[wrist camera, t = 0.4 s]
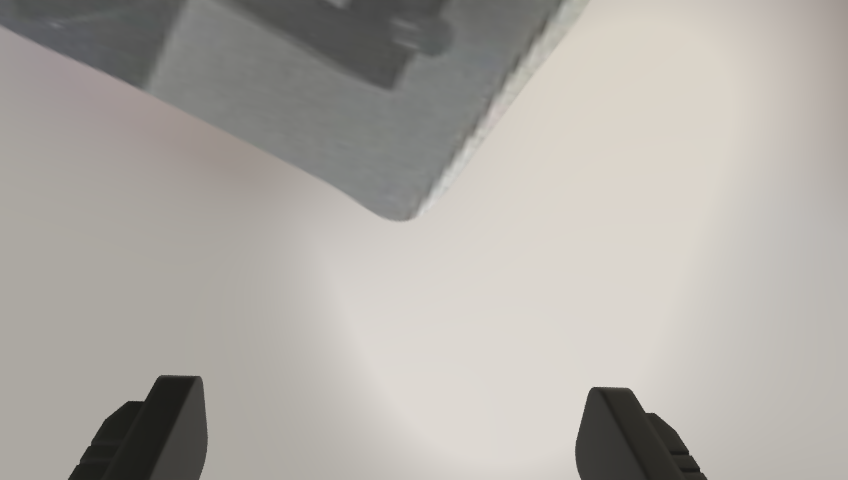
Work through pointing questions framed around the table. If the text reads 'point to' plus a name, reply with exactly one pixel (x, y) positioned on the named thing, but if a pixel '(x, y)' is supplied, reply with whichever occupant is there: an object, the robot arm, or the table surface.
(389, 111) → the table surface
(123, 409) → the robot arm
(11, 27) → the table surface
